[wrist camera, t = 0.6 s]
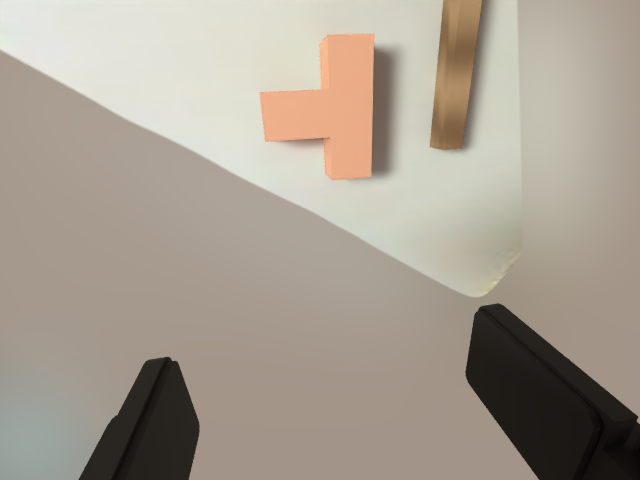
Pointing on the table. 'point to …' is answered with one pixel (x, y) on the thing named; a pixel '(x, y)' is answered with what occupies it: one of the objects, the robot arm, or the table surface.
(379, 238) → the table surface
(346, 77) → the t block
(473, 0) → the walnut fence
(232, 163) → the table surface
